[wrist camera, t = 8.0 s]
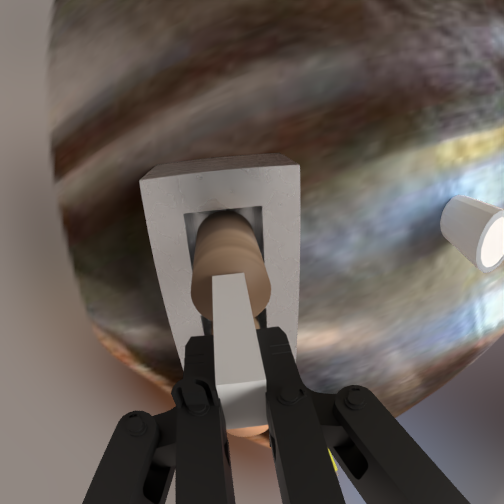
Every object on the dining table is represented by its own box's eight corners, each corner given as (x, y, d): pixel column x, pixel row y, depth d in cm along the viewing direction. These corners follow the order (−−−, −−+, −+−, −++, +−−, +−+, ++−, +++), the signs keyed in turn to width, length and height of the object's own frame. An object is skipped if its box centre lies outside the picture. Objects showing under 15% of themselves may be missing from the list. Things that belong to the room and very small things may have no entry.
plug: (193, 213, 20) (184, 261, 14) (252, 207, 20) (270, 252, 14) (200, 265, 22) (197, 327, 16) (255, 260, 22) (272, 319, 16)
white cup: (427, 240, 29) (467, 270, 23) (447, 182, 26) (493, 202, 20) (462, 249, 30) (498, 276, 24) (481, 198, 28) (521, 218, 21)
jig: (156, 164, 23) (139, 180, 17) (279, 152, 23) (299, 164, 18) (201, 384, 34) (201, 424, 29) (282, 375, 35) (292, 414, 30)
